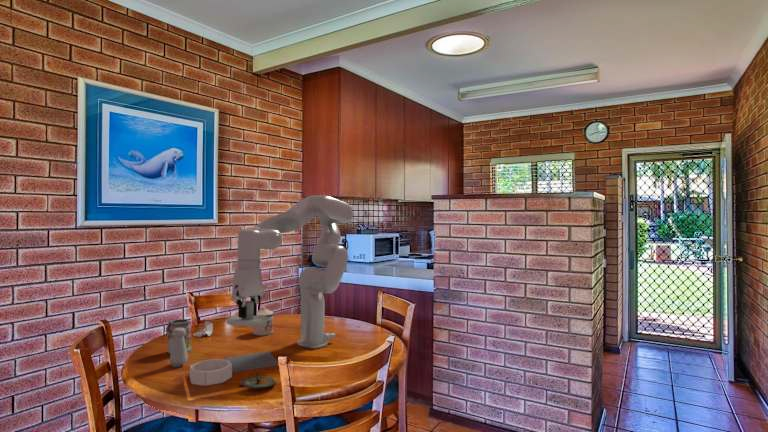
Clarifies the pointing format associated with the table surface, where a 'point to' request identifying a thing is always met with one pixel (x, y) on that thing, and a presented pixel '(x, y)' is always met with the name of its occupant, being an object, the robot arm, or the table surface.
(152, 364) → the table surface
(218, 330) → the table surface
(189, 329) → the grey jar
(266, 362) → the mat
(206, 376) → the bowl
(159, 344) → the table surface
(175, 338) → the salt shaker
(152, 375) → the table surface
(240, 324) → the cover
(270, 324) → the teacup with lid
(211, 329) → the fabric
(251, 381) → the lid
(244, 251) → the robot arm
